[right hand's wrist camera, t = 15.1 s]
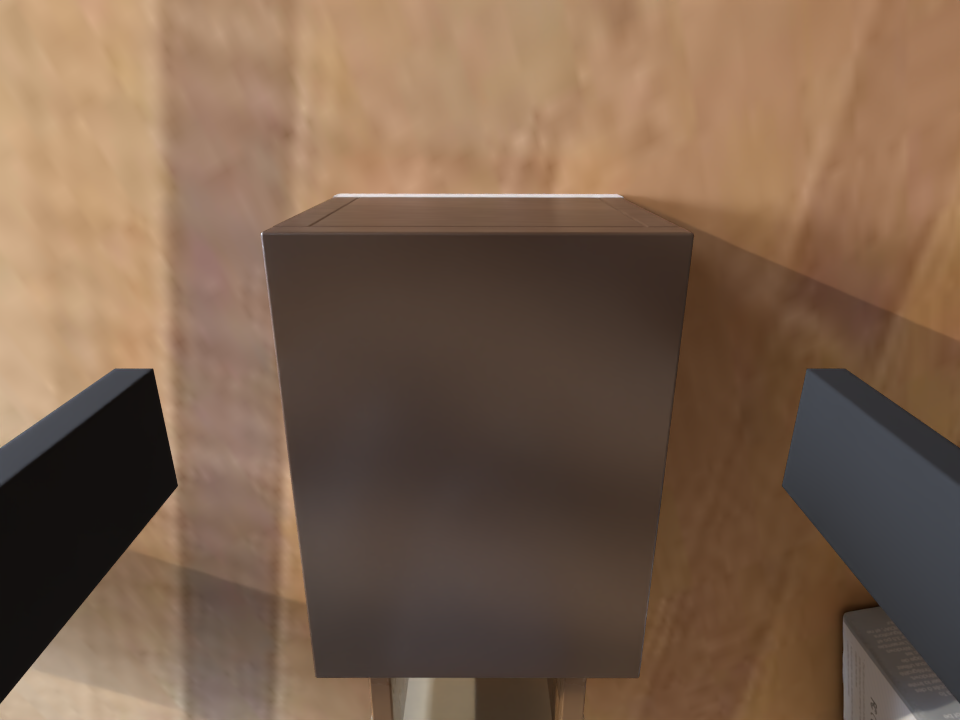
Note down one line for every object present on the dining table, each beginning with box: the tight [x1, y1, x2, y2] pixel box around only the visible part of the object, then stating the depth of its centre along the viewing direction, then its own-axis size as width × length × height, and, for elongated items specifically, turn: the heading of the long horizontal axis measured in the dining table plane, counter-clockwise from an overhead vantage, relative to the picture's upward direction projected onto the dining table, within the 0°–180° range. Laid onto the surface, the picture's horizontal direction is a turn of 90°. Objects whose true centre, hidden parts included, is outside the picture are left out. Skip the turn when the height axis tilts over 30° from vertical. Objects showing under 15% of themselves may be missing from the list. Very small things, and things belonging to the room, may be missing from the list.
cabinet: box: [261, 194, 694, 678], centre depth 22 cm, size 15×11×9 cm
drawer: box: [369, 678, 586, 720], centre depth 26 cm, size 19×10×7 cm, turn 0°
